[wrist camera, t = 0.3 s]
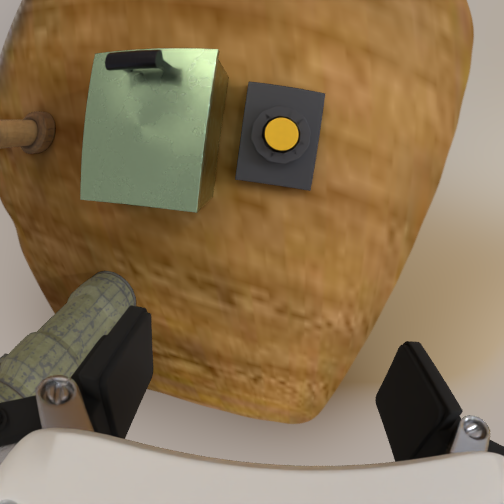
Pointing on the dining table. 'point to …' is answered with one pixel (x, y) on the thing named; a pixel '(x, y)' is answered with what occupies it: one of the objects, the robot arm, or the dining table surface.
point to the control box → (267, 158)
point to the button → (281, 134)
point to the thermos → (65, 336)
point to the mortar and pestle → (28, 132)
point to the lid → (148, 127)
